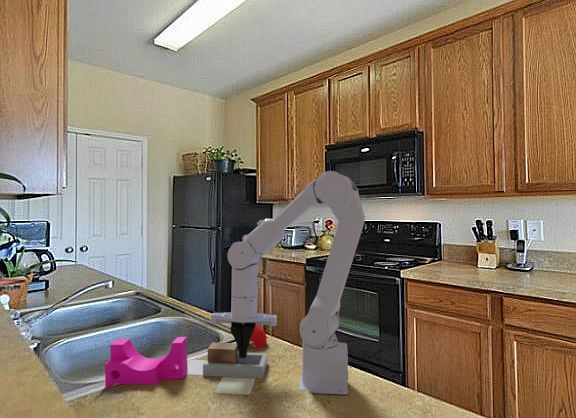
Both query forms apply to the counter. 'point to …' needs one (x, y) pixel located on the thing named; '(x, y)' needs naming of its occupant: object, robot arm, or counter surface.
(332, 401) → the counter surface
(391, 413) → the counter surface
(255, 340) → the red rounded piece
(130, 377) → the magenta cradle bracket
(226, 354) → the walnut block
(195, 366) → the trough deck
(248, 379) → the sage coaster
